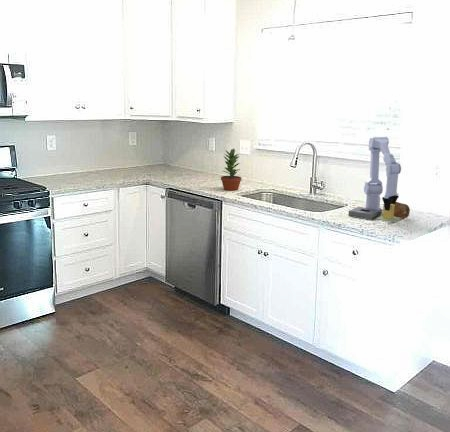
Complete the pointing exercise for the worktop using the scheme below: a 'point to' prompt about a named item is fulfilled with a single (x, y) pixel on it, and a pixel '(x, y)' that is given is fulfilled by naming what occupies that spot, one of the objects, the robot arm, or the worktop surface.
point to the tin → (401, 210)
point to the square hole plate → (365, 213)
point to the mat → (388, 219)
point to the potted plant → (231, 173)
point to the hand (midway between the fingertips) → (389, 209)
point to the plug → (388, 212)
